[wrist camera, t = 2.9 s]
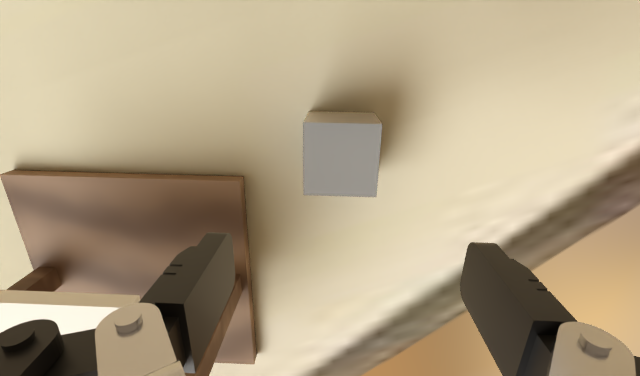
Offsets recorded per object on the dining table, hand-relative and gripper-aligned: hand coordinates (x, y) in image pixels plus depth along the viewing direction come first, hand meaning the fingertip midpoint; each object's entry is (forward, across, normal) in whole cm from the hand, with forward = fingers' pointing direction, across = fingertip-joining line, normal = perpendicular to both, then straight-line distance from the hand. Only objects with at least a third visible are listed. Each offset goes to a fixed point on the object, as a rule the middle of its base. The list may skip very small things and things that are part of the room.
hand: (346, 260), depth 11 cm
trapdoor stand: (+16, +18, +13) cm, 27 cm away
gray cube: (+16, 0, 0) cm, 16 cm away
